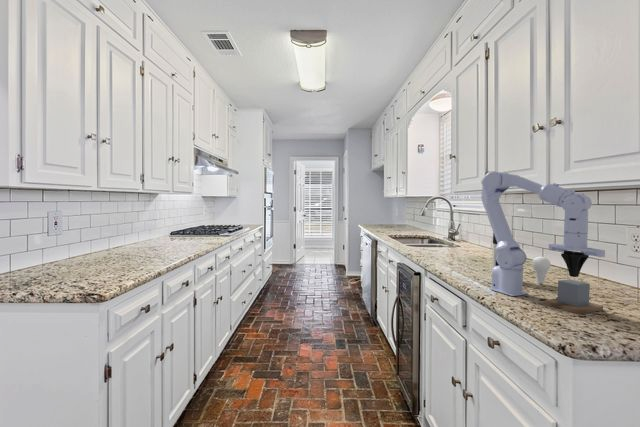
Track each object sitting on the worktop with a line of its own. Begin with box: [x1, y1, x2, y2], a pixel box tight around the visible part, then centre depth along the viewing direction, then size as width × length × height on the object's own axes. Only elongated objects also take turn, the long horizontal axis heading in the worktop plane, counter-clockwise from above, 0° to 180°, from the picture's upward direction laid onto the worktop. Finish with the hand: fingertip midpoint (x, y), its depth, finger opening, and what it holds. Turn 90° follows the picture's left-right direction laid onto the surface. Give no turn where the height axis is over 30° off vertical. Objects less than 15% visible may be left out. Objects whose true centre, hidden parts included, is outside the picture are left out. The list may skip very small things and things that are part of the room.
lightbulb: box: [531, 256, 552, 285], centre depth 125 cm, size 6×6×11 cm
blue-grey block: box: [557, 278, 591, 307], centre depth 98 cm, size 6×6×7 cm
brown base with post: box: [544, 297, 604, 315], centre depth 98 cm, size 10×11×6 cm
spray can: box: [491, 231, 500, 271], centre depth 134 cm, size 7×7×20 cm
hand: (574, 276), depth 98 cm, fingers closed
